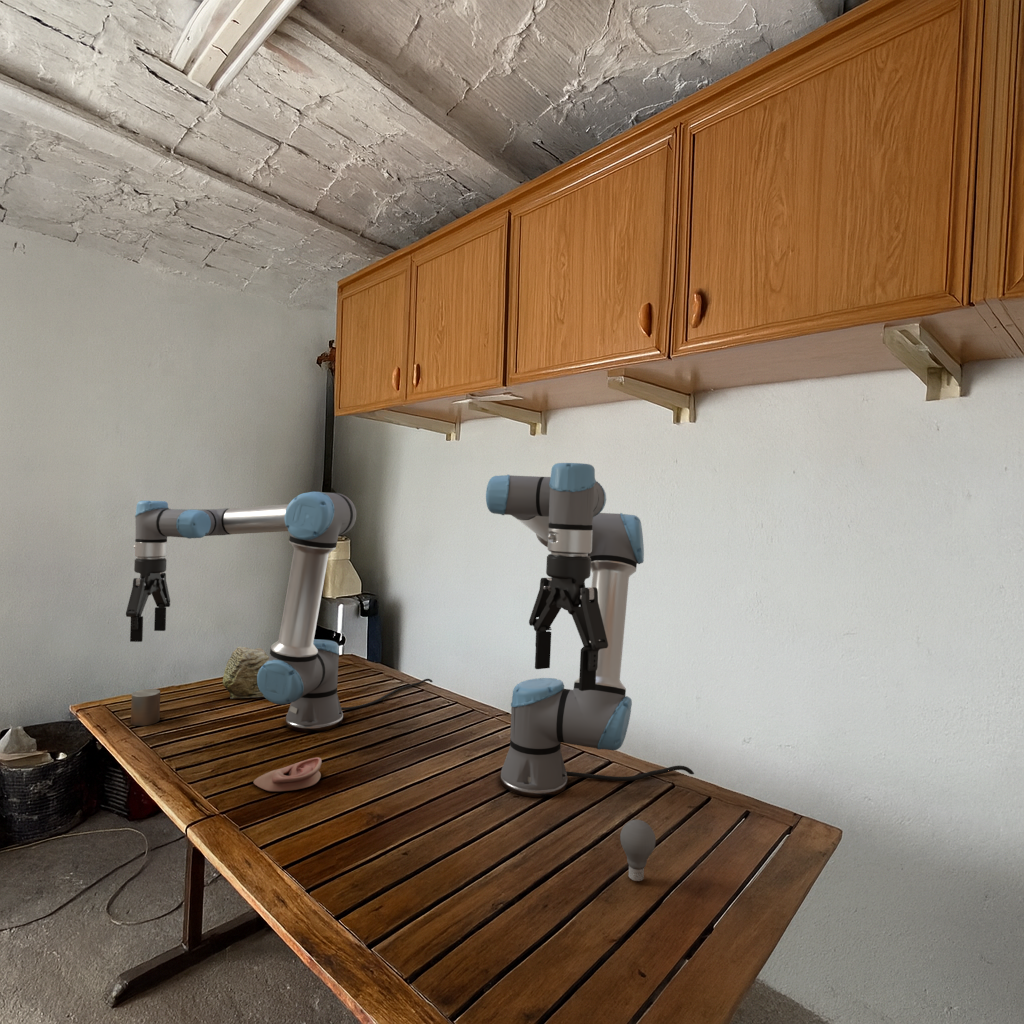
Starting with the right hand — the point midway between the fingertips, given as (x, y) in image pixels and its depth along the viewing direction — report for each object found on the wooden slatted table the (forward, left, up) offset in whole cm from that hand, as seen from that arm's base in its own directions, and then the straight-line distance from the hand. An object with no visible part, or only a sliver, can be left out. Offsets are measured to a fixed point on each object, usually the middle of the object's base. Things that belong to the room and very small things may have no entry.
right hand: (563, 678), depth 108 cm
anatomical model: (+34, -55, -34) cm, 74 cm away
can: (+62, -108, -34) cm, 129 cm away
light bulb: (-12, +7, -34) cm, 37 cm away
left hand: (+62, -108, -11) cm, 125 cm away
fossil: (+33, -121, -34) cm, 130 cm away
